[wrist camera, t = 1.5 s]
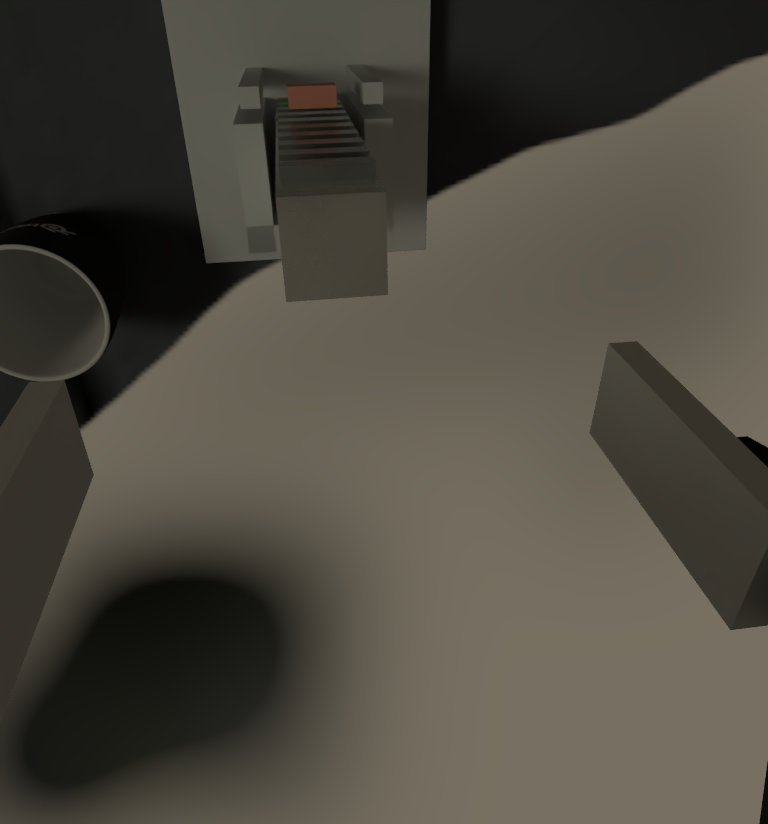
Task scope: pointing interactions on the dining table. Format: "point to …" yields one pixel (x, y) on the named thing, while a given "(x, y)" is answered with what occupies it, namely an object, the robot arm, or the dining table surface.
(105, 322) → the mug
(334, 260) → the column
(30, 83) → the dining table surface
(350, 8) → the stand base
